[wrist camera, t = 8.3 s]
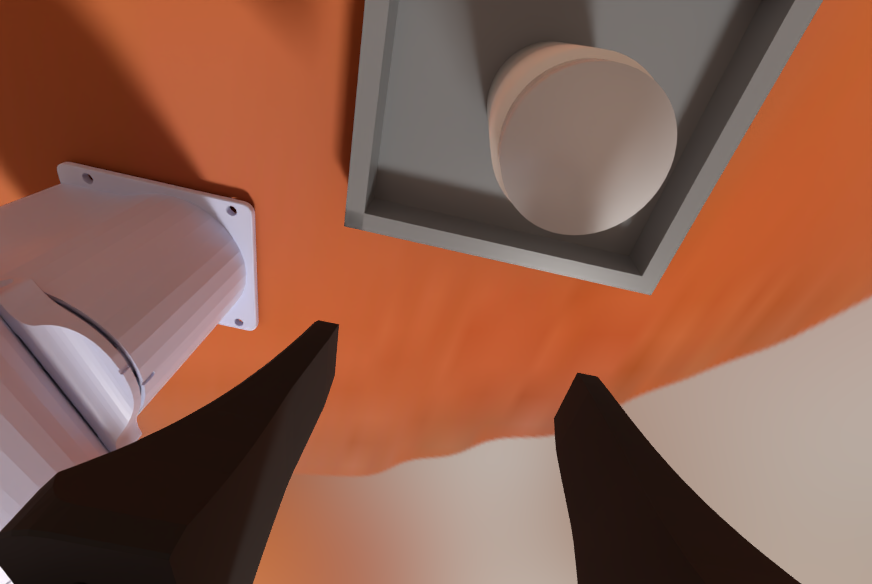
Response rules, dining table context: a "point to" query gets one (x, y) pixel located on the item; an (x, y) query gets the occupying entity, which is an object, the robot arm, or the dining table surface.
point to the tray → (469, 135)
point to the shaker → (578, 136)
